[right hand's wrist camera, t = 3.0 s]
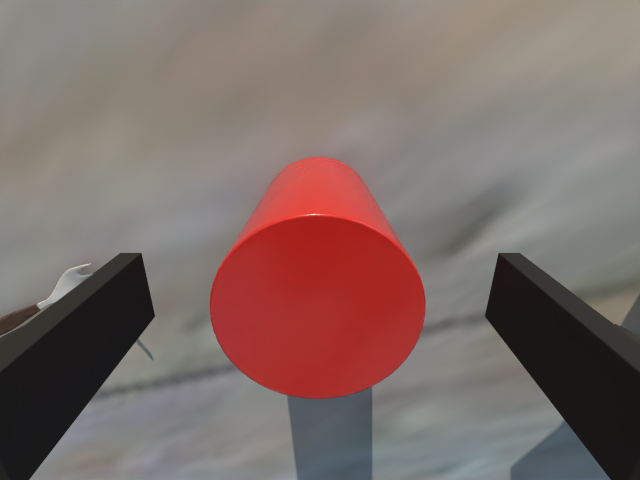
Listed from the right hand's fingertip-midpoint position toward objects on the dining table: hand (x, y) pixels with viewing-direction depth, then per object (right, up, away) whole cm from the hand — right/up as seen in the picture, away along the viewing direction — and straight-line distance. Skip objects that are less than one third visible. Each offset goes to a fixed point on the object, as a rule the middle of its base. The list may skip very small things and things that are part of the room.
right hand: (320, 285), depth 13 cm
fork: (-22, -3, +13) cm, 25 cm away
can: (0, +4, +10) cm, 11 cm away
